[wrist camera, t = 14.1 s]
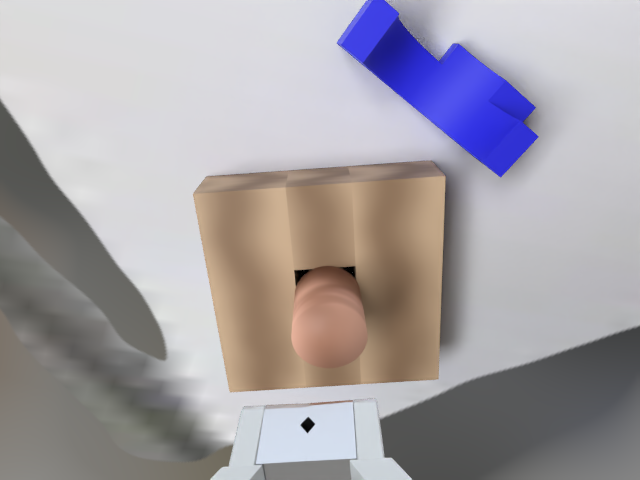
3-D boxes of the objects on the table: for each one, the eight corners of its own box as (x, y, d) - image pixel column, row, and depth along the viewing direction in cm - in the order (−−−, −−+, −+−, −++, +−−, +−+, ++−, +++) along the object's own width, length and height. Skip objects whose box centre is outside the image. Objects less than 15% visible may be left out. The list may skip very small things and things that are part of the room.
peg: (355, 242, 35) (366, 301, 28) (357, 296, 37) (368, 365, 29) (293, 247, 36) (287, 307, 28) (299, 300, 37) (294, 370, 30)
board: (431, 160, 33) (445, 176, 30) (427, 347, 40) (438, 379, 36) (206, 176, 34) (192, 193, 30) (237, 359, 40) (229, 392, 36)
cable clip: (517, 101, 32) (558, 115, 27) (470, 153, 34) (500, 177, 28) (381, -21, 29) (396, -33, 24) (336, 43, 31) (340, 44, 25)
